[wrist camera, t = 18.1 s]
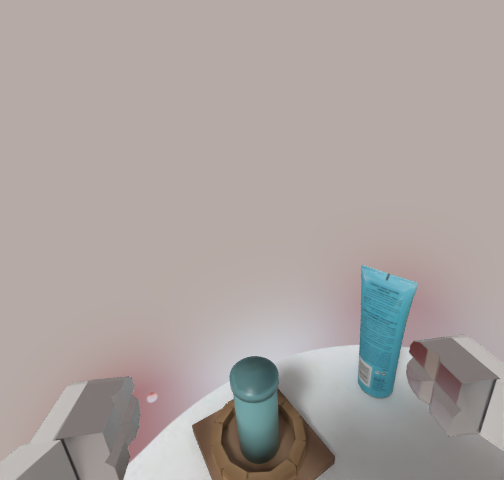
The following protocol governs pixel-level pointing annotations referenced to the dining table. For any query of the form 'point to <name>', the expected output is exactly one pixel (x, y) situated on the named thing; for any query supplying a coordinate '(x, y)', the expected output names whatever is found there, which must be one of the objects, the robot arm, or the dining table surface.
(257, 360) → the teal rimmed peg
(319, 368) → the dining table surface
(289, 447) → the collar base
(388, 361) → the tube
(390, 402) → the dining table surface
